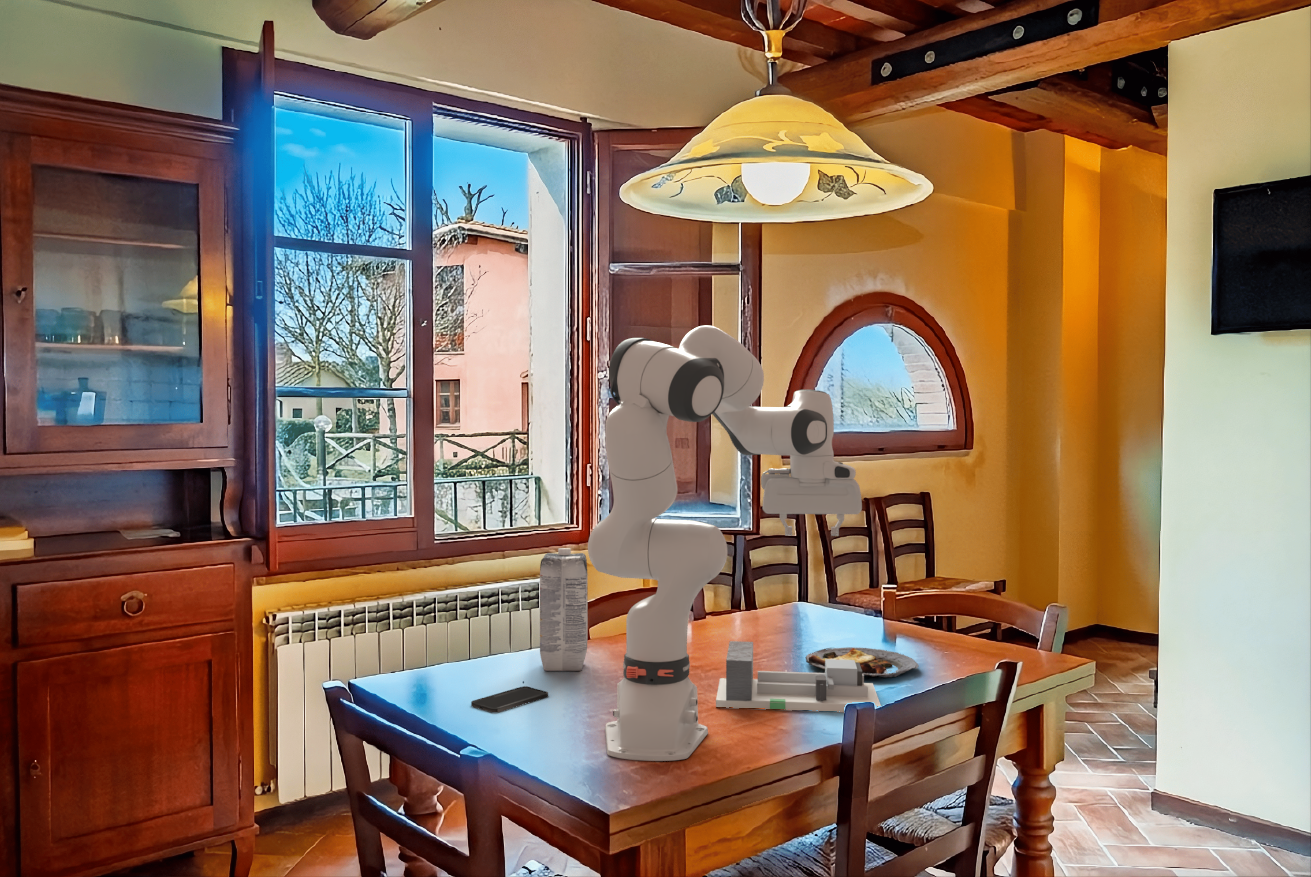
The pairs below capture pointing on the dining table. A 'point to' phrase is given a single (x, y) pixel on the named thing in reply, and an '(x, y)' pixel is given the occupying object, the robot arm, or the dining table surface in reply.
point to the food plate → (865, 660)
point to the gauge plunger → (842, 673)
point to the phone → (509, 699)
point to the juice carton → (563, 610)
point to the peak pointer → (820, 688)
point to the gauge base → (797, 693)
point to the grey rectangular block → (739, 671)
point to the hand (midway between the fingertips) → (811, 535)
